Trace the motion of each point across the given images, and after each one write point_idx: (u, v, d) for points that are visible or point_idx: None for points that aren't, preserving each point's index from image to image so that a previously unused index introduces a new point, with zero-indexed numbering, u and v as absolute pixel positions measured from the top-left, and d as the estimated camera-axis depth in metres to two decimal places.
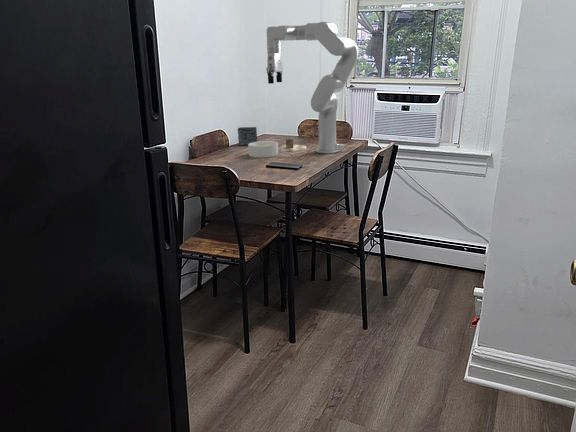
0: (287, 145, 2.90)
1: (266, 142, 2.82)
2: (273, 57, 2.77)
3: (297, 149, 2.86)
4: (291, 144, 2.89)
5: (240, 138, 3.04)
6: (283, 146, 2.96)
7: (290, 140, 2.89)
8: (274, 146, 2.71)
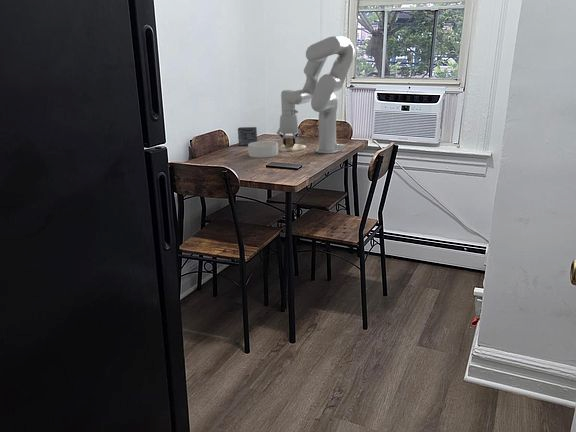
0: (287, 144, 2.90)
1: (266, 142, 2.82)
2: None
3: (297, 148, 2.86)
4: (291, 143, 2.90)
5: (240, 138, 3.04)
6: (283, 145, 2.96)
7: (290, 139, 2.89)
8: (274, 146, 2.71)
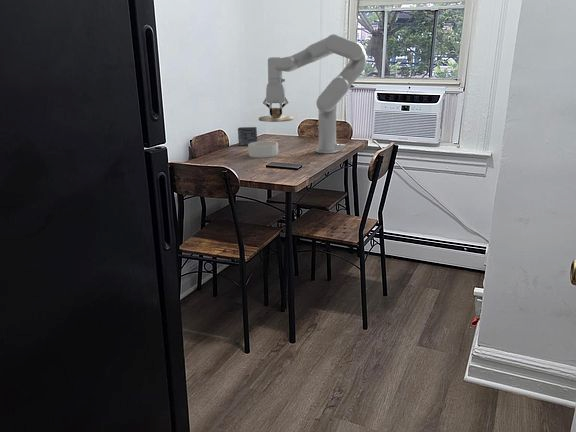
0: (273, 115, 2.77)
1: (266, 142, 2.82)
2: None
3: (283, 119, 2.74)
4: (277, 113, 2.77)
5: (240, 138, 3.04)
6: (270, 116, 2.84)
7: (276, 109, 2.77)
8: (274, 146, 2.71)
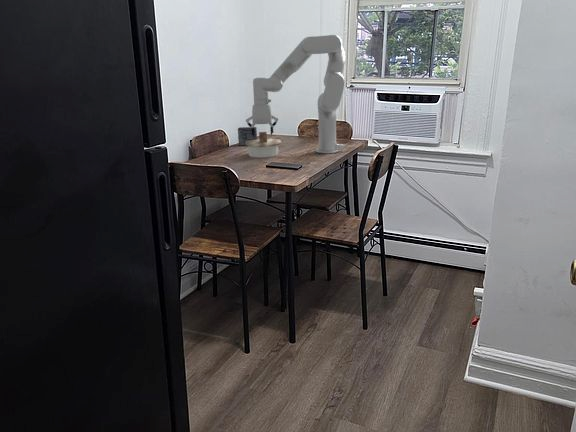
0: (260, 139, 2.73)
1: None
2: None
3: (270, 143, 2.69)
4: (264, 138, 2.73)
5: (240, 138, 3.04)
6: (257, 140, 2.79)
7: (263, 134, 2.72)
8: (274, 146, 2.71)
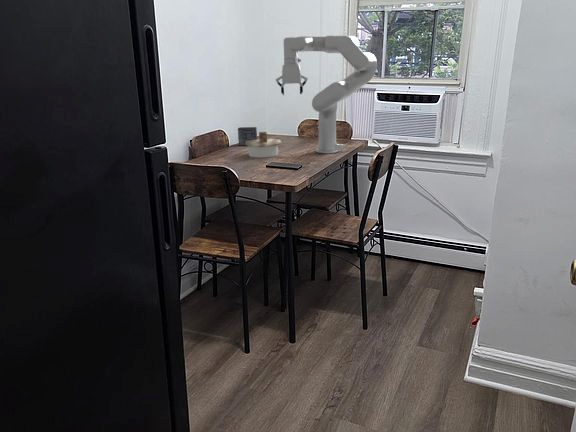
0: (260, 139, 2.73)
1: None
2: None
3: (270, 143, 2.69)
4: (264, 138, 2.73)
5: (240, 138, 3.04)
6: (257, 140, 2.79)
7: (263, 134, 2.72)
8: (274, 146, 2.71)
